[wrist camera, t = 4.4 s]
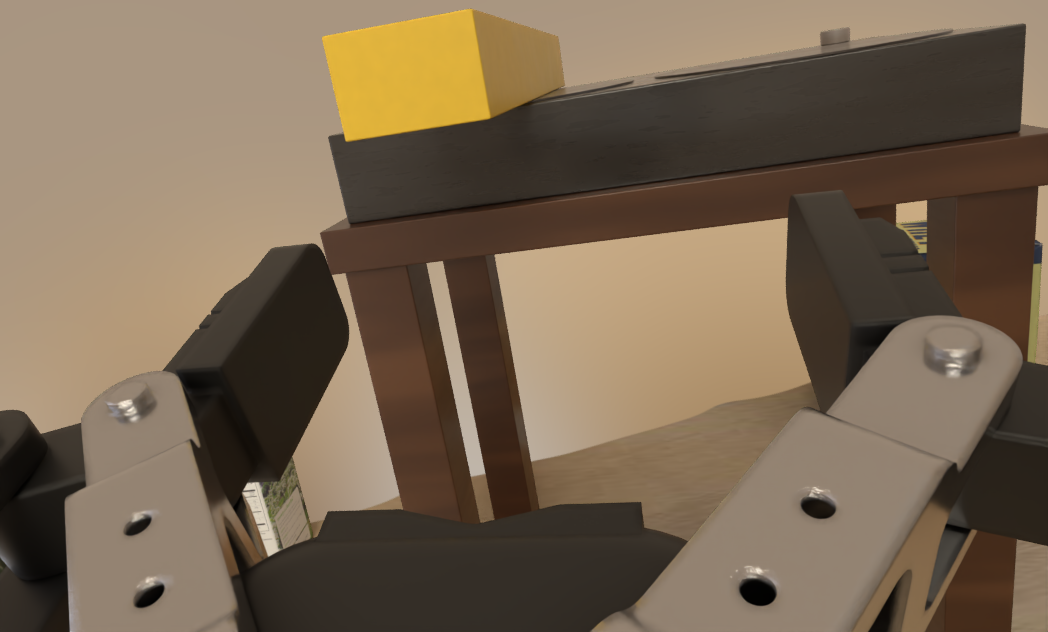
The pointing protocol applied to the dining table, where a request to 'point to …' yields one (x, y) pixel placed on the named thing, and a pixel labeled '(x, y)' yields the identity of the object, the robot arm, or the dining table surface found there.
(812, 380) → the robot arm
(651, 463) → the dining table surface
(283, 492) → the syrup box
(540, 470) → the dining table surface
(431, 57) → the yellow rectangular bar
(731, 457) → the dining table surface
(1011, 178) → the hob stand
